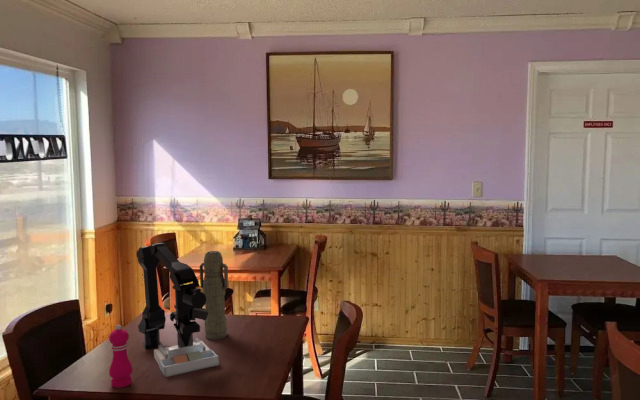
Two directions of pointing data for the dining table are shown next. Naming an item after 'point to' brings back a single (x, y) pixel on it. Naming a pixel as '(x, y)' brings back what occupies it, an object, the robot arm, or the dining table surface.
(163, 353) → the white shallow box
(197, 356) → the sage tile
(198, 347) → the grey panel
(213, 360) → the tray
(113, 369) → the pepper mill
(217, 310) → the thermos
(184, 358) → the terracotta tile
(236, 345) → the dining table surface
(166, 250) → the robot arm
